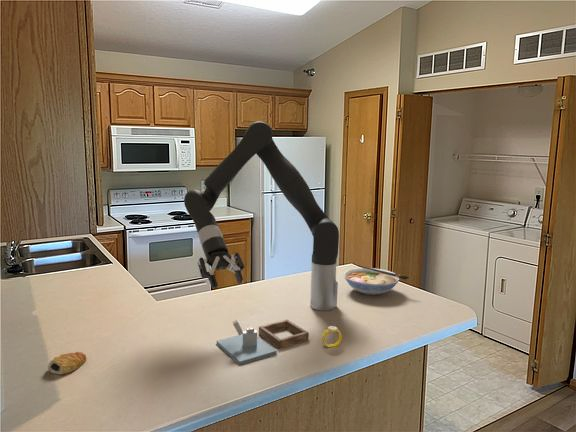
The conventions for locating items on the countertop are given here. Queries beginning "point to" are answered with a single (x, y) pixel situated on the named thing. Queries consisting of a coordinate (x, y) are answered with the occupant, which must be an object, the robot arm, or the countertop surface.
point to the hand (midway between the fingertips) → (228, 285)
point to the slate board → (245, 349)
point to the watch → (332, 329)
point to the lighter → (247, 335)
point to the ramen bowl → (372, 280)
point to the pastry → (66, 363)
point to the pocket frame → (299, 337)
